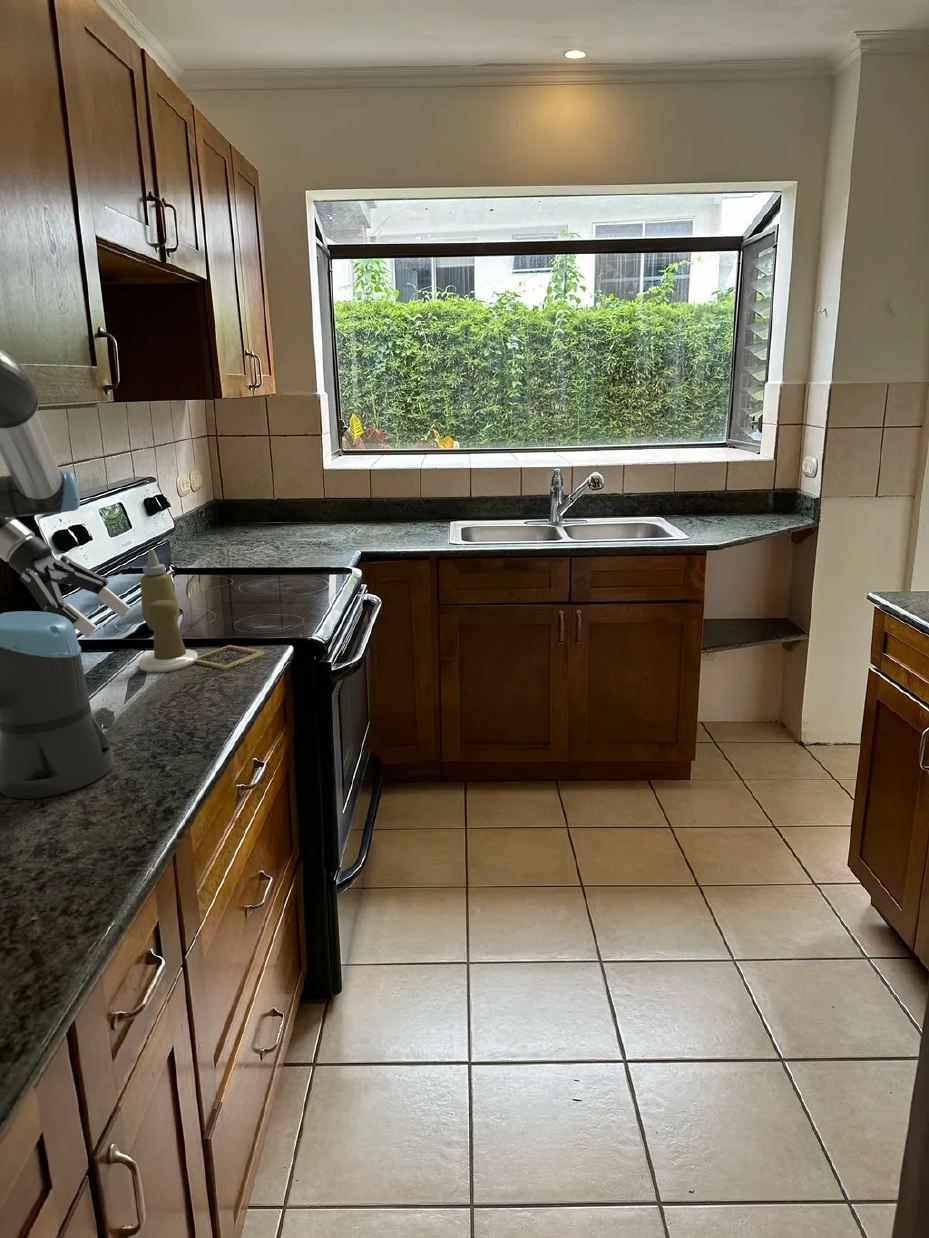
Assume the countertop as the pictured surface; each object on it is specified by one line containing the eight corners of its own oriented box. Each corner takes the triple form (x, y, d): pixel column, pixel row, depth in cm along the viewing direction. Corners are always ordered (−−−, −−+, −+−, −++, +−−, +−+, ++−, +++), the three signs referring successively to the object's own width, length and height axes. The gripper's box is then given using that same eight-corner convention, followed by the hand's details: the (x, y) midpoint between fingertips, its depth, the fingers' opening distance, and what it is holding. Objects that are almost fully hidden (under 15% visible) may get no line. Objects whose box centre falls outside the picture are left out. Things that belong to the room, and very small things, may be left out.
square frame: (225, 669, 158) (225, 666, 158) (190, 662, 164) (190, 659, 164) (264, 654, 166) (264, 651, 166) (229, 647, 172) (229, 644, 172)
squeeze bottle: (158, 635, 183) (145, 555, 178) (137, 630, 188) (124, 552, 183) (189, 625, 189) (177, 548, 184) (168, 621, 194) (156, 545, 189)
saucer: (164, 675, 157) (163, 670, 157) (127, 667, 163) (126, 662, 162) (209, 658, 166) (209, 652, 165) (173, 651, 172) (172, 645, 171)
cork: (184, 648, 169) (176, 595, 166) (187, 656, 164) (179, 602, 161) (153, 653, 167) (144, 600, 164) (155, 661, 162) (145, 607, 159)
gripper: (47, 550, 173) (128, 618, 176) (-31, 578, 149) (64, 655, 152) (67, 524, 171) (149, 592, 174) (-9, 547, 148) (87, 626, 150)
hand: (109, 622), depth 163 cm, fingers open, 13 cm apart
